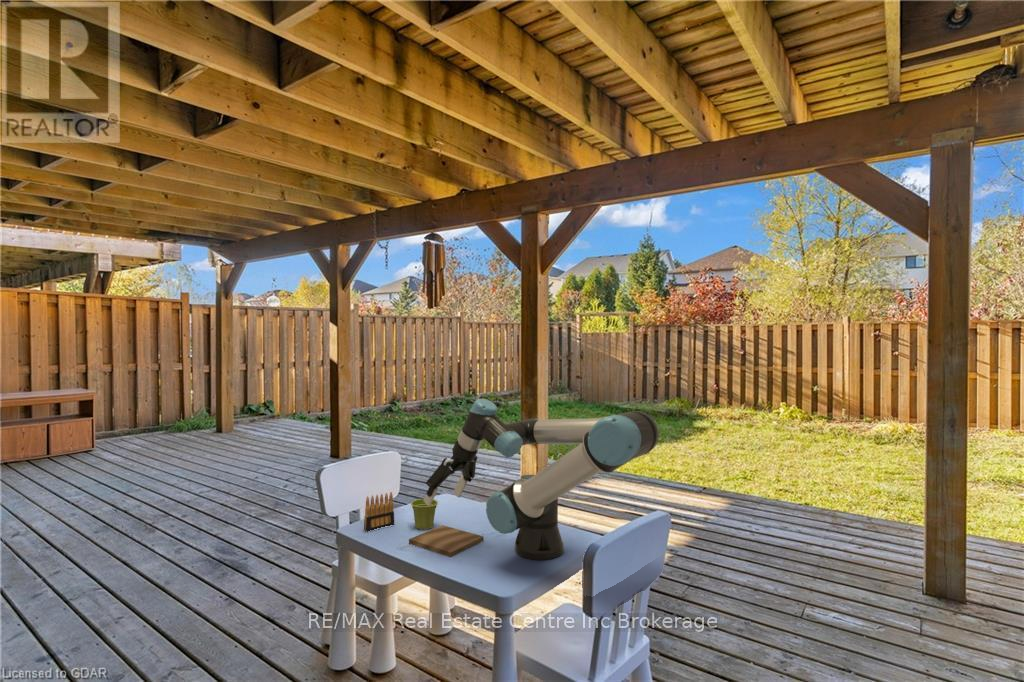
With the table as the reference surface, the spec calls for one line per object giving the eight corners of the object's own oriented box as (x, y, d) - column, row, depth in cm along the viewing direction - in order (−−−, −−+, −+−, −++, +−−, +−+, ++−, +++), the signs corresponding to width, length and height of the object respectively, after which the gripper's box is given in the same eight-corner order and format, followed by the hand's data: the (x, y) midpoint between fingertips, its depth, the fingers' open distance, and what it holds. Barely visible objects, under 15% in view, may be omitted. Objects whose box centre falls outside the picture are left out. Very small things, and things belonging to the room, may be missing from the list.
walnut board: (483, 540, 170) (483, 536, 170) (450, 557, 157) (450, 552, 157) (443, 529, 181) (443, 525, 181) (408, 543, 168) (408, 539, 168)
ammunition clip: (366, 532, 178) (366, 497, 178) (363, 531, 179) (363, 496, 179) (394, 525, 185) (394, 491, 185) (392, 524, 186) (392, 490, 186)
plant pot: (435, 521, 189) (435, 497, 189) (440, 530, 180) (440, 505, 180) (409, 524, 186) (409, 499, 186) (412, 533, 177) (412, 507, 177)
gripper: (485, 433, 175) (460, 484, 180) (431, 442, 155) (406, 499, 160) (500, 447, 171) (475, 498, 176) (447, 457, 151) (420, 515, 156)
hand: (442, 499), depth 168 cm, fingers open, 13 cm apart
